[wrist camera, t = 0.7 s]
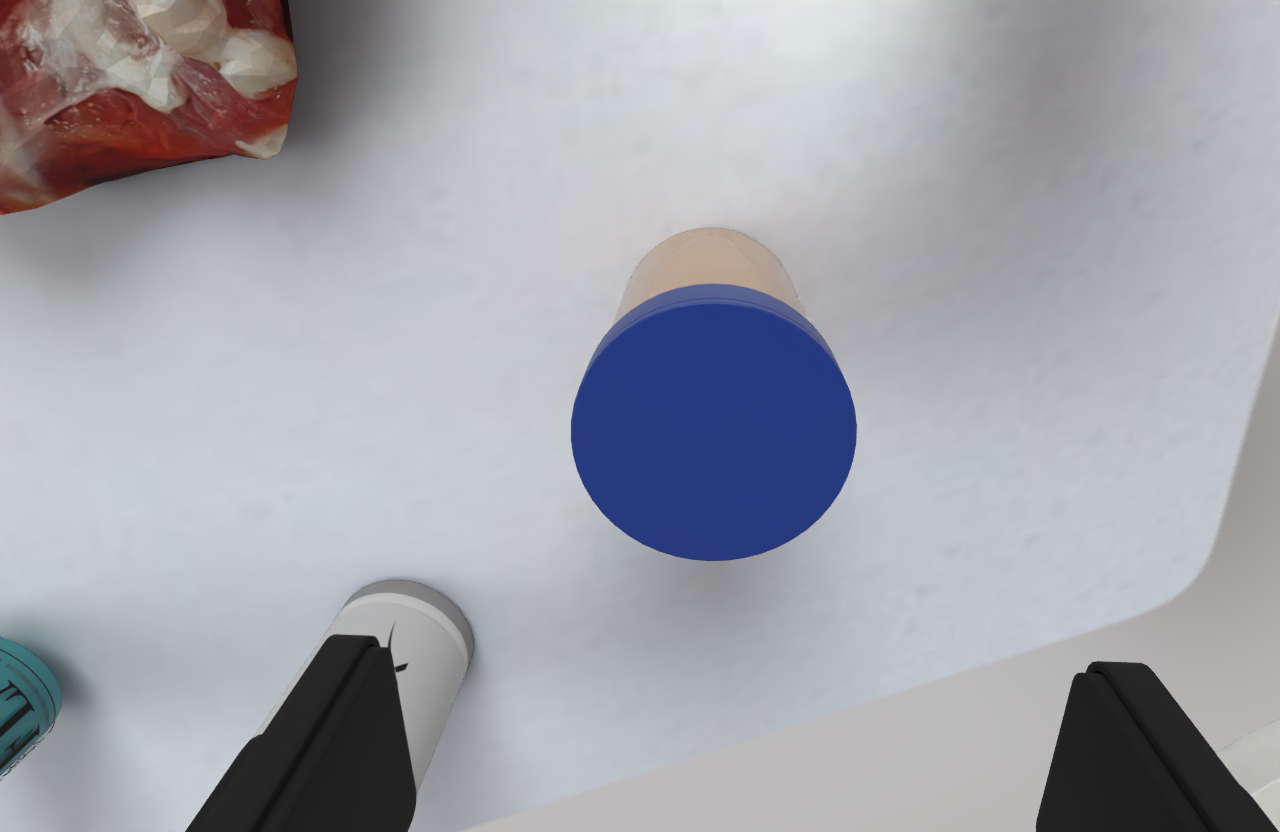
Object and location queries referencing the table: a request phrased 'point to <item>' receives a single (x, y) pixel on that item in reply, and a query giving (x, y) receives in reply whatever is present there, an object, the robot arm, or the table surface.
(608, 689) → the table surface
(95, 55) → the meat
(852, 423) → the jar lid
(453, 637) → the travel mug
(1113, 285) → the table surface
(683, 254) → the jar
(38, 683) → the beverage bottle
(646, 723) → the table surface
